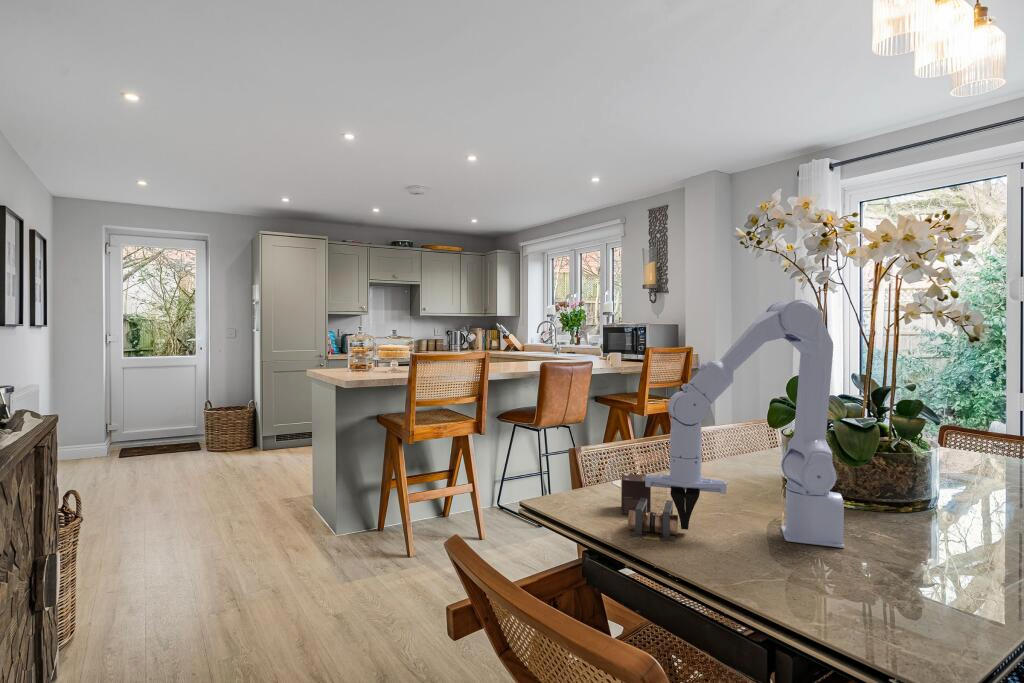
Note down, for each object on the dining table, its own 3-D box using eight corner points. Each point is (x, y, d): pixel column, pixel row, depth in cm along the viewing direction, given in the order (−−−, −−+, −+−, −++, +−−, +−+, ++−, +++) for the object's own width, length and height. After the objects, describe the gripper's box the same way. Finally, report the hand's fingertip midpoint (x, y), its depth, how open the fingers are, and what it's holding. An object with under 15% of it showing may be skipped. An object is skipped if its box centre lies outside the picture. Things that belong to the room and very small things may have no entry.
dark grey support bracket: (677, 525, 115) (677, 500, 115) (674, 541, 106) (674, 513, 106) (662, 523, 116) (662, 498, 116) (657, 539, 107) (657, 511, 107)
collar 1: (651, 522, 116) (651, 497, 116) (646, 537, 108) (646, 510, 108) (636, 520, 117) (636, 496, 117) (629, 535, 109) (630, 509, 109)
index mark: (660, 539, 107) (660, 537, 107) (659, 540, 106) (659, 539, 106) (643, 537, 108) (643, 535, 108) (643, 538, 107) (643, 536, 107)
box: (650, 517, 120) (651, 481, 120) (621, 515, 121) (621, 479, 121) (649, 508, 126) (650, 474, 126) (621, 506, 127) (621, 472, 127)
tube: (678, 526, 112) (678, 510, 110) (677, 539, 109) (676, 523, 107) (630, 520, 115) (630, 505, 113) (628, 533, 112) (627, 518, 110)
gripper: (726, 454, 111) (725, 525, 111) (648, 448, 116) (647, 517, 116) (726, 462, 104) (726, 537, 105) (644, 455, 109) (643, 528, 109)
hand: (684, 527), depth 110 cm, fingers closed
